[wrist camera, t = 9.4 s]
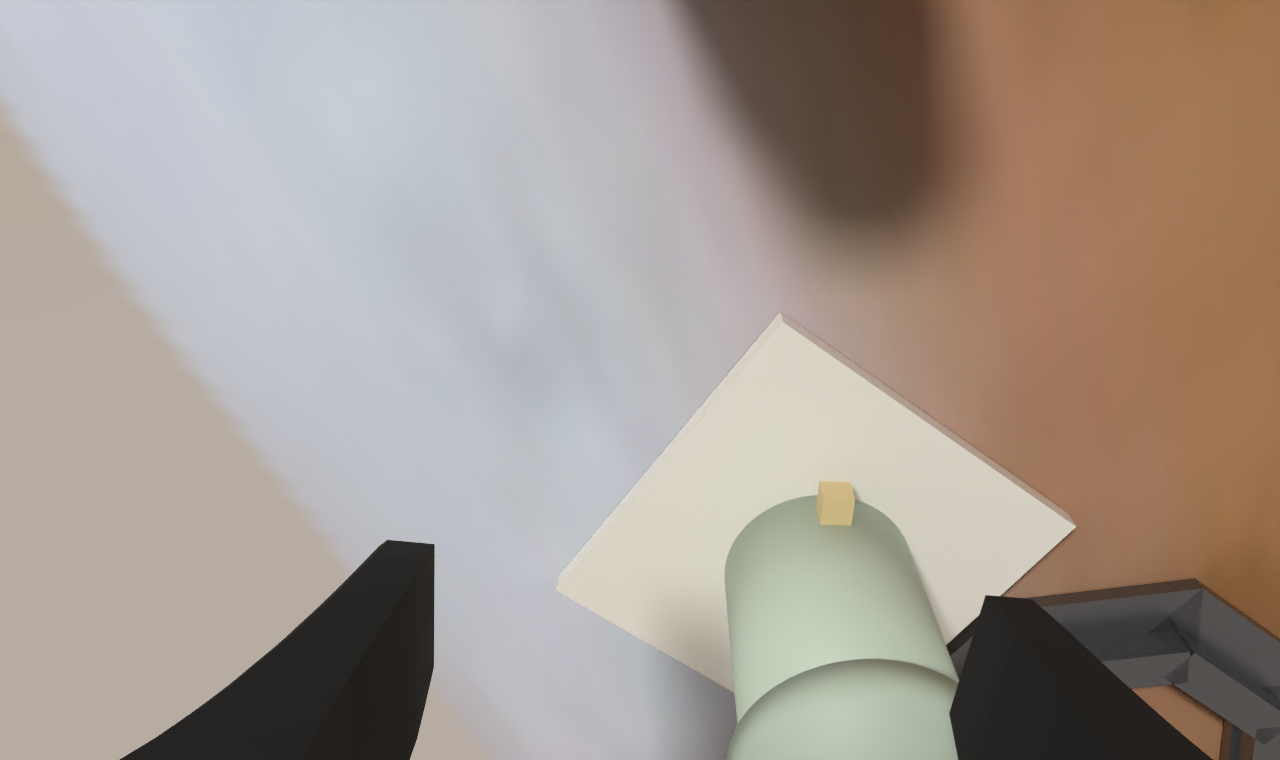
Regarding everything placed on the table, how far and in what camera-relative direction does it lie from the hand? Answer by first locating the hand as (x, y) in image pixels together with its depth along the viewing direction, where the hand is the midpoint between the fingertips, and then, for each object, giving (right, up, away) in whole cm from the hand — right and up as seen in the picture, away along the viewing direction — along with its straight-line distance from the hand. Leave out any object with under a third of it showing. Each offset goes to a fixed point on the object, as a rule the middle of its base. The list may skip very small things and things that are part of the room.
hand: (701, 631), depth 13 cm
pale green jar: (+4, -1, +12) cm, 12 cm away
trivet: (+3, -1, +12) cm, 12 cm away
